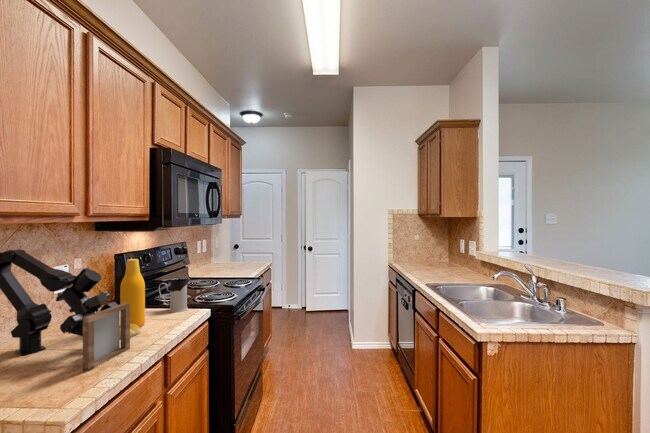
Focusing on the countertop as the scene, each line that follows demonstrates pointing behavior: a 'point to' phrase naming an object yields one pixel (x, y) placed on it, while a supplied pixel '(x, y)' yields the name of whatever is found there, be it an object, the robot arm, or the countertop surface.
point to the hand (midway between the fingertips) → (106, 334)
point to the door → (106, 335)
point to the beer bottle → (133, 292)
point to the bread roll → (131, 330)
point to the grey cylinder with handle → (177, 295)
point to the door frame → (89, 335)
